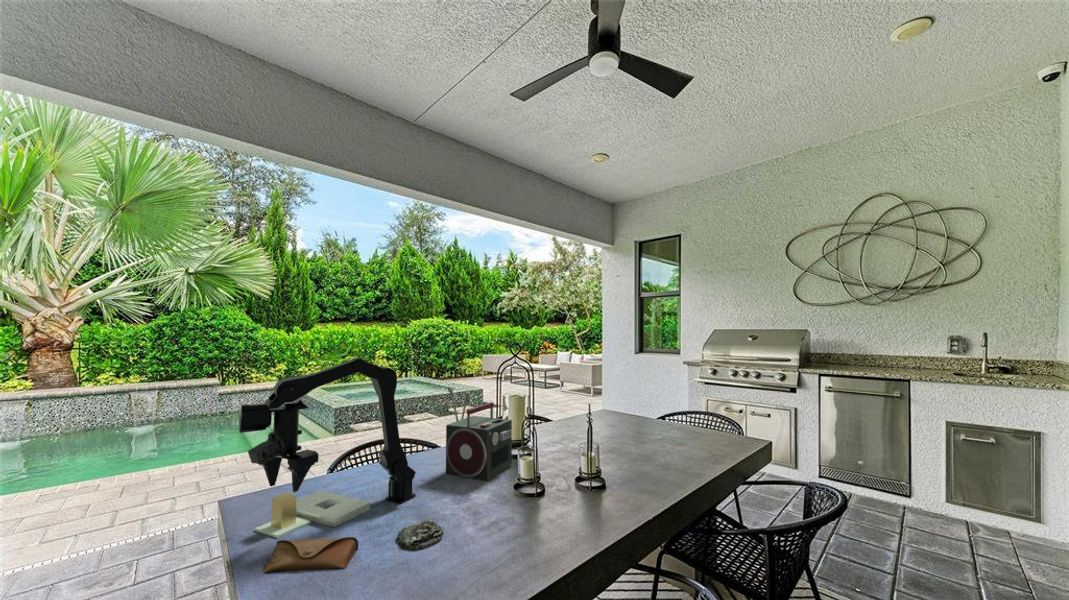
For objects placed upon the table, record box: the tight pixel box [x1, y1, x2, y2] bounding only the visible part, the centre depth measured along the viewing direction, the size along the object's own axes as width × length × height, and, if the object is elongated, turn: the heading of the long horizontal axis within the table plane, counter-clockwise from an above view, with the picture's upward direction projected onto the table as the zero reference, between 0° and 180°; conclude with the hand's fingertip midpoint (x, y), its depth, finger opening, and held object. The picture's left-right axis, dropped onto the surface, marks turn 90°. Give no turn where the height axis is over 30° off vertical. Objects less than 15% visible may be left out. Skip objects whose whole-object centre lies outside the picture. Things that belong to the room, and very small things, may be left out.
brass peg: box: [270, 492, 298, 529], centre depth 112 cm, size 4×4×7 cm
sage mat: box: [254, 517, 312, 539], centre depth 112 cm, size 9×9×1 cm
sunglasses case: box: [261, 536, 359, 574], centre depth 96 cm, size 18×7×7 cm
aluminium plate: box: [296, 490, 371, 528], centre depth 122 cm, size 20×12×2 cm, turn 64°
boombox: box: [445, 386, 513, 482], centre depth 157 cm, size 18×21×30 cm
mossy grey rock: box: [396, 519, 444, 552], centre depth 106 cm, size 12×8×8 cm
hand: (283, 488), depth 113 cm, fingers open, 9 cm apart
